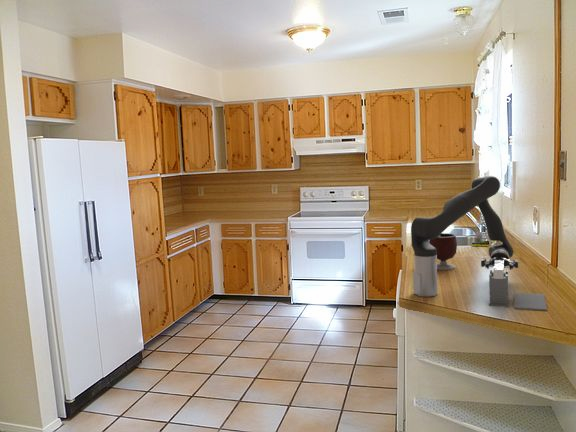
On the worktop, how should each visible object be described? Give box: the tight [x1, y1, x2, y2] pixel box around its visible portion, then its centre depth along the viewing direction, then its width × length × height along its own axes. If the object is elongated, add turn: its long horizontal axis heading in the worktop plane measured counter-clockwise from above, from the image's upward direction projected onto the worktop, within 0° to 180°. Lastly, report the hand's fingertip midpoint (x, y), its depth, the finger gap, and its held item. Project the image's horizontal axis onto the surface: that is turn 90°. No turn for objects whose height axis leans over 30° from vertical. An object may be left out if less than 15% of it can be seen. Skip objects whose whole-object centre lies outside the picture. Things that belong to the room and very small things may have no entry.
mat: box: [513, 292, 548, 311], centre depth 195 cm, size 21×11×1 cm, turn 156°
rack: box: [488, 269, 510, 308], centre depth 196 cm, size 11×7×12 cm, turn 156°
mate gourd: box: [428, 232, 458, 271], centre depth 260 cm, size 16×14×20 cm
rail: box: [492, 260, 505, 279], centre depth 198 cm, size 18×4×4 cm, turn 156°
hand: (499, 266), depth 202 cm, fingers open, 8 cm apart
